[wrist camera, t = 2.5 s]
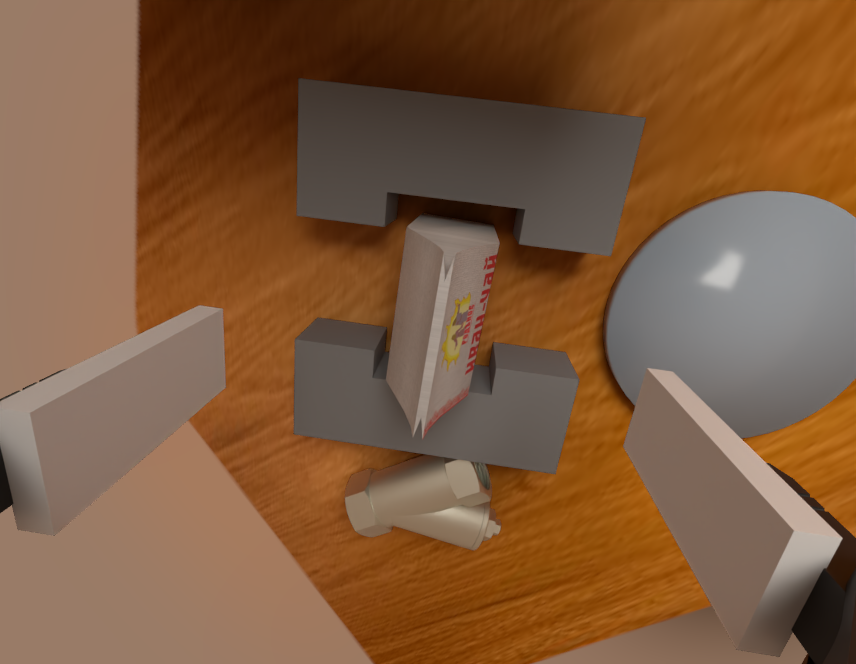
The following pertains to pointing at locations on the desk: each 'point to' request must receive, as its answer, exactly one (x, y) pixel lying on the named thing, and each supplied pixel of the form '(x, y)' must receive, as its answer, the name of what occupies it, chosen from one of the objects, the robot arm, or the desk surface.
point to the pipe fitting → (425, 500)
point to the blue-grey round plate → (742, 307)
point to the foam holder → (469, 182)
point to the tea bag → (439, 314)
